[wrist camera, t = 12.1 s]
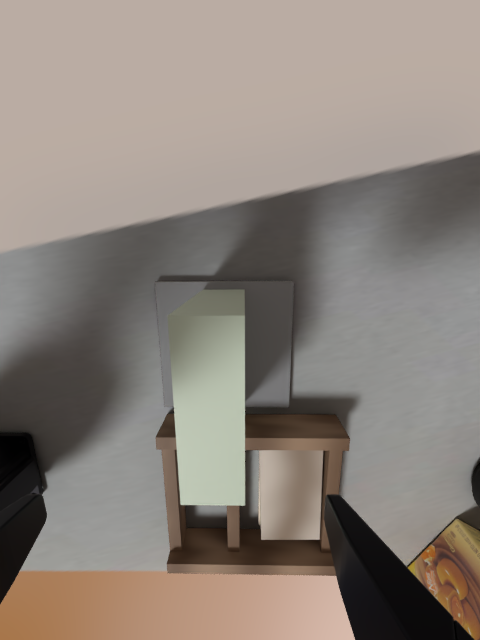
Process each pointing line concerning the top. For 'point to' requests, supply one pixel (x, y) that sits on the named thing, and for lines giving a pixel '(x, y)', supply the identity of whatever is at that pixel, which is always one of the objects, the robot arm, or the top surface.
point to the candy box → (454, 573)
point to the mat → (260, 335)
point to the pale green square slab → (209, 396)
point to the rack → (232, 542)
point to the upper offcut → (290, 494)
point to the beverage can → (476, 485)
